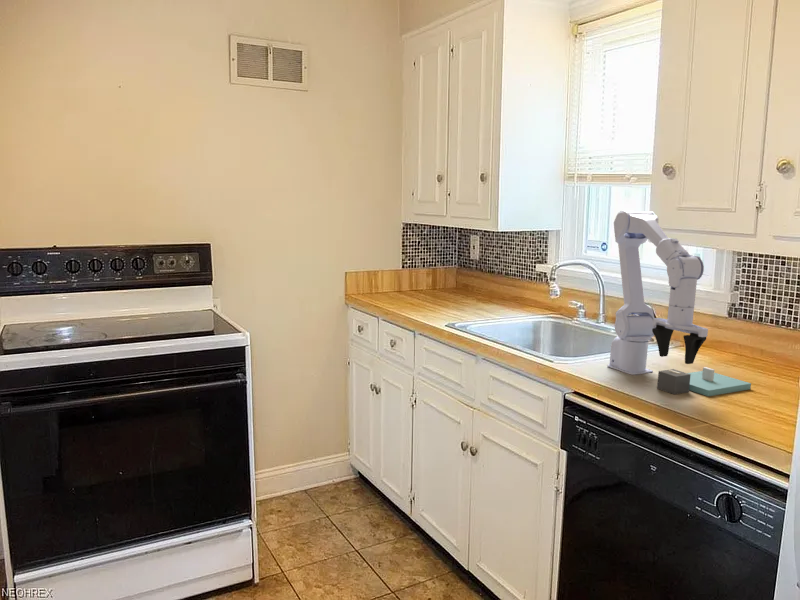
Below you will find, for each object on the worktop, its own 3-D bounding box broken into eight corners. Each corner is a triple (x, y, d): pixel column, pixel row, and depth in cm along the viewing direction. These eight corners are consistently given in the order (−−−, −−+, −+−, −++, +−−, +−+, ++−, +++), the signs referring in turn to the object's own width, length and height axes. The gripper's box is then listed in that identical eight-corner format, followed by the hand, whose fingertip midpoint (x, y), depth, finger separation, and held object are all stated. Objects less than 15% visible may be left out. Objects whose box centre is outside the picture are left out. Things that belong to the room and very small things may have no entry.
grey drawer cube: (656, 388, 162) (658, 369, 161) (671, 386, 164) (673, 367, 163) (674, 394, 157) (676, 375, 156) (688, 391, 159) (690, 373, 159)
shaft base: (664, 381, 168) (666, 365, 167) (705, 375, 175) (707, 359, 174) (708, 396, 156) (710, 378, 155) (750, 389, 163) (752, 371, 163)
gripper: (646, 301, 162) (641, 354, 164) (695, 311, 149) (689, 368, 151) (665, 300, 165) (660, 352, 167) (716, 309, 152) (710, 365, 154)
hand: (675, 359), depth 159 cm, fingers open, 7 cm apart
